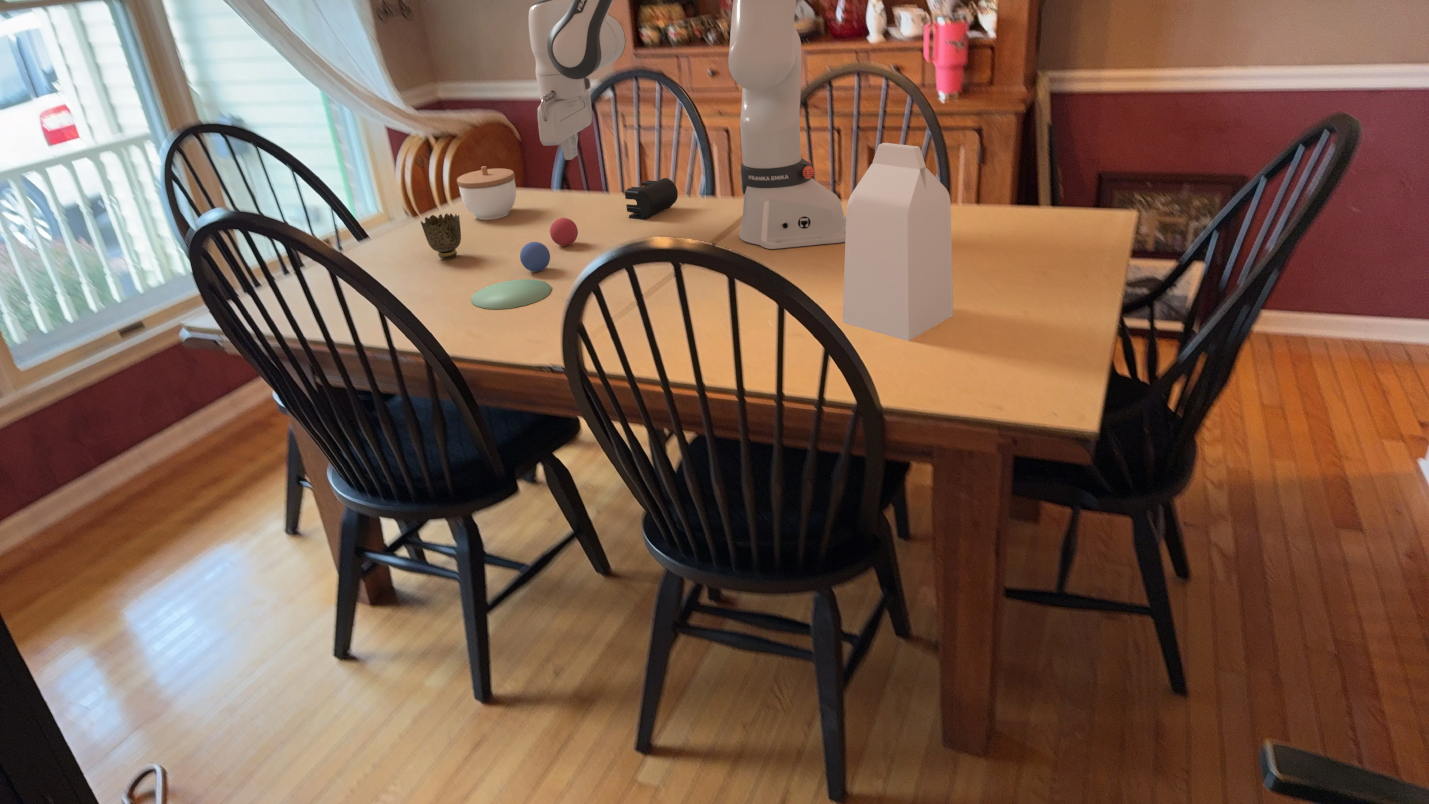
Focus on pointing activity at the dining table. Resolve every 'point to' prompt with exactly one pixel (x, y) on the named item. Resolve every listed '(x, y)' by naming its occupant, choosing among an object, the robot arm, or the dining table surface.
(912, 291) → the milk
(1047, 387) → the dining table surface
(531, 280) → the pale green ellipsoid
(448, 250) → the cup
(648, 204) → the end cap
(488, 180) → the lidded bowl
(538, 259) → the navy ball
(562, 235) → the red rubber ball
